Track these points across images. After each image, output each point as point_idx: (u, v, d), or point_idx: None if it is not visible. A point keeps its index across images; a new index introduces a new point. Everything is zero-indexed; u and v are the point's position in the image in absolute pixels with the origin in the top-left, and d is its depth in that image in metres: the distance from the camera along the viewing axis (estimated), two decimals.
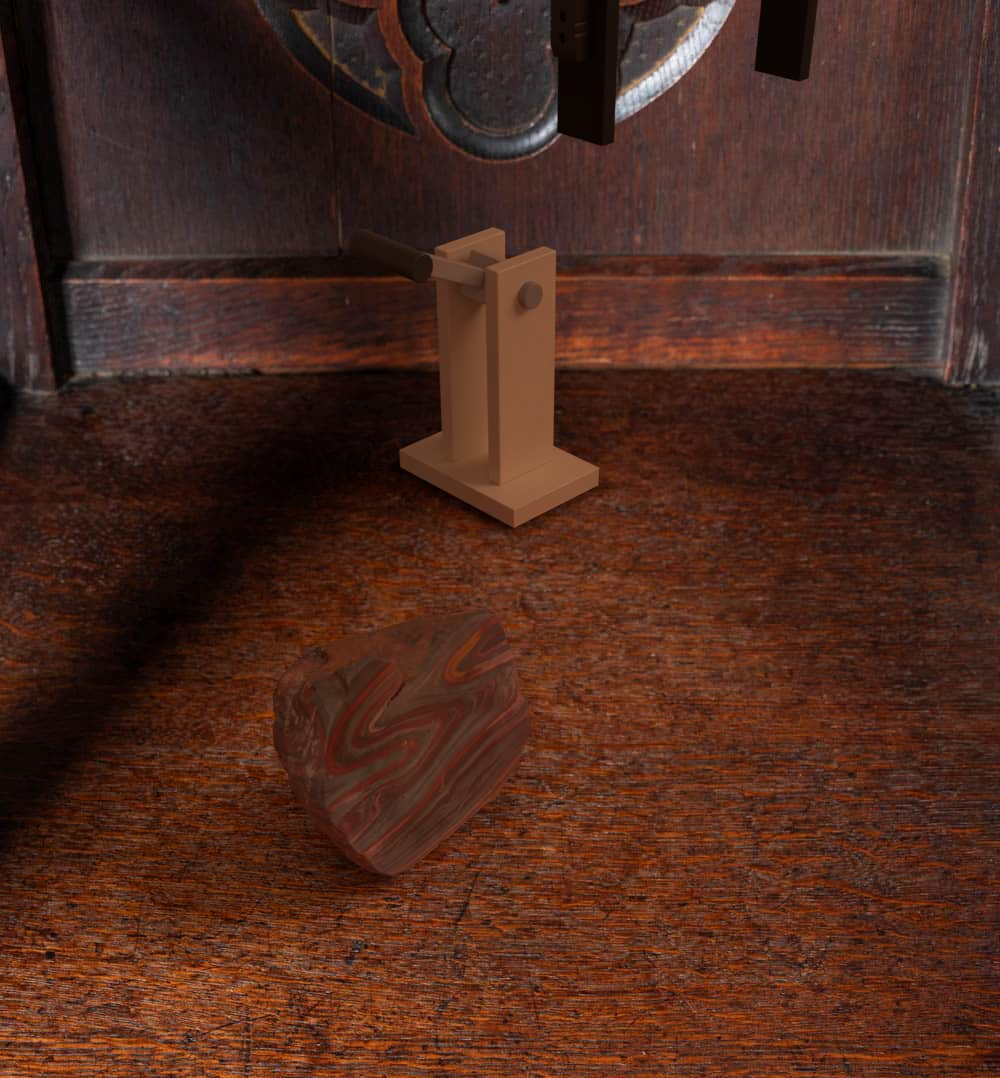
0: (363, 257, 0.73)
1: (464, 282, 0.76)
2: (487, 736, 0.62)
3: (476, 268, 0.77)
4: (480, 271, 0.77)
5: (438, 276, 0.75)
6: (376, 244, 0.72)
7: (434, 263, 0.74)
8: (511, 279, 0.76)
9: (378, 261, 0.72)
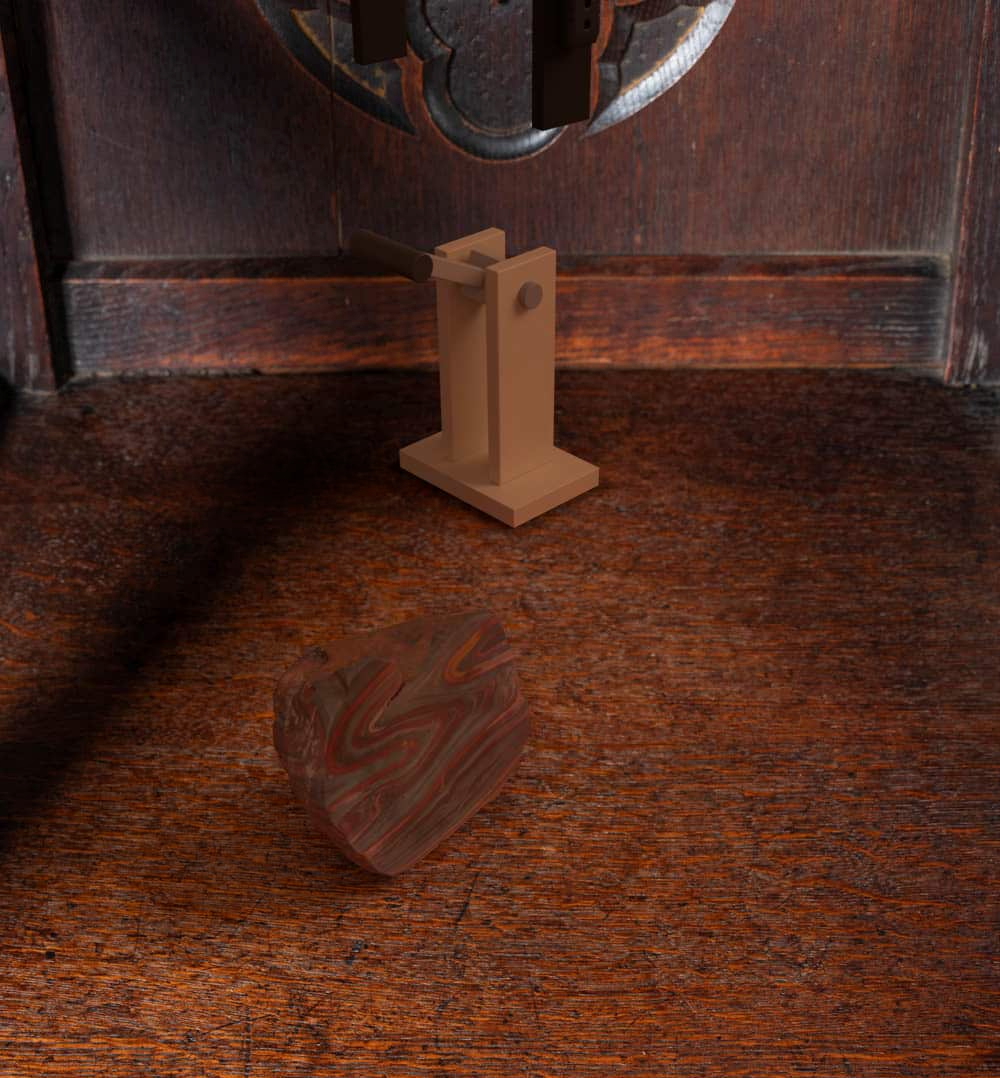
0: (363, 257, 0.73)
1: (464, 282, 0.76)
2: (487, 736, 0.62)
3: (476, 268, 0.77)
4: (480, 271, 0.77)
5: (438, 276, 0.75)
6: (376, 244, 0.72)
7: (434, 263, 0.74)
8: (511, 279, 0.76)
9: (378, 261, 0.72)
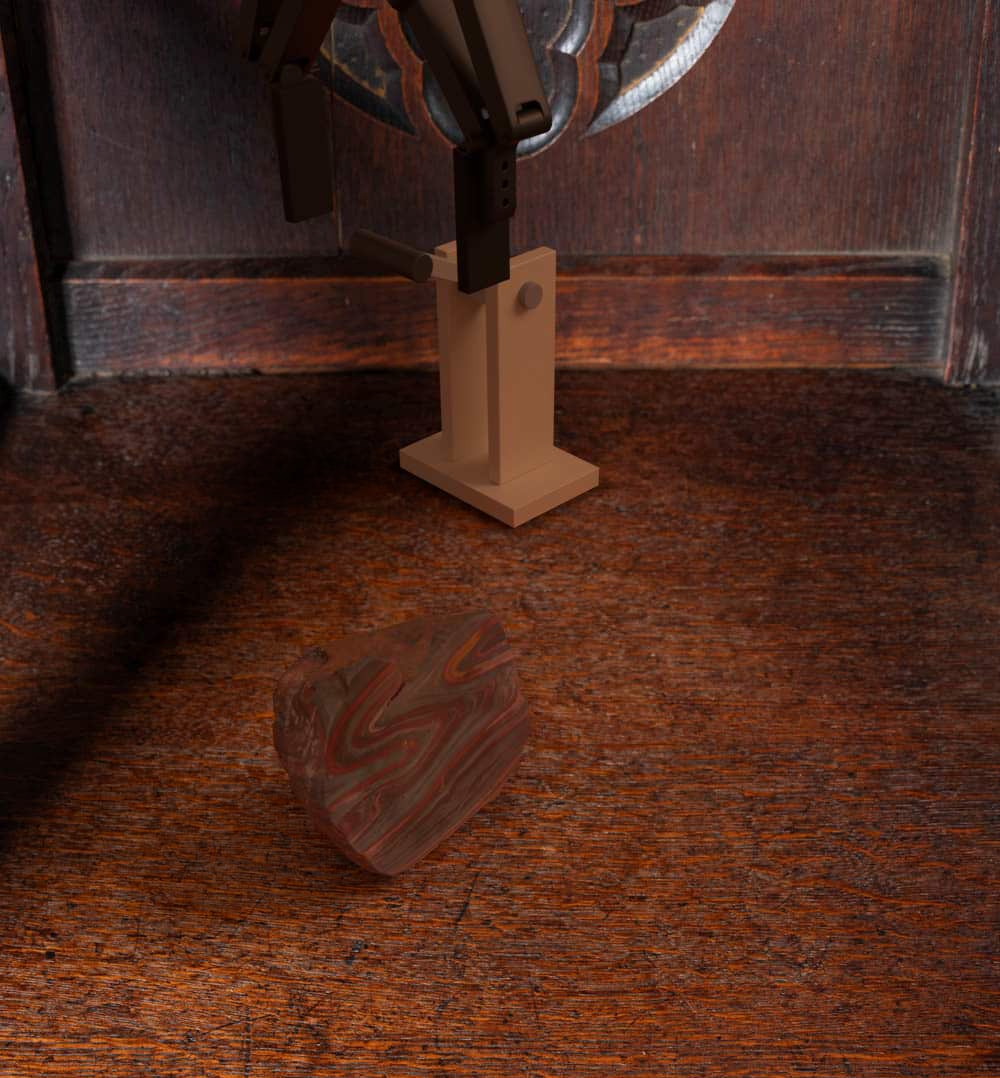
0: (363, 257, 0.73)
1: None
2: (487, 736, 0.62)
3: None
4: None
5: (438, 276, 0.75)
6: (376, 244, 0.72)
7: (434, 263, 0.74)
8: (511, 279, 0.76)
9: (378, 261, 0.72)
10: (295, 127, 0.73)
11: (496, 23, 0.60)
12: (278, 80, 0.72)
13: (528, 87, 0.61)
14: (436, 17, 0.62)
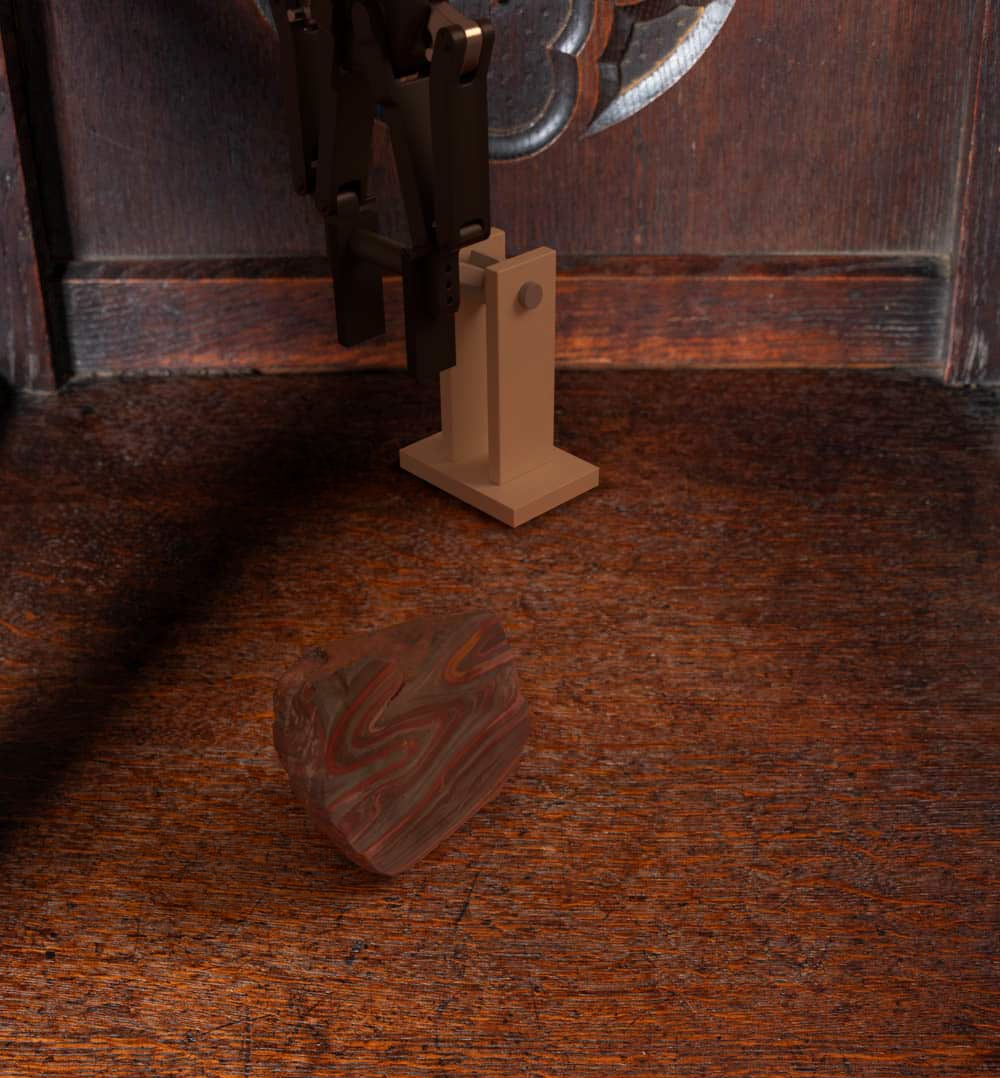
0: (363, 257, 0.73)
1: (464, 282, 0.76)
2: (487, 736, 0.62)
3: (476, 268, 0.77)
4: (480, 271, 0.77)
5: None
6: (376, 244, 0.72)
7: None
8: (511, 279, 0.76)
9: (378, 261, 0.72)
10: (351, 257, 0.74)
11: (464, 150, 0.65)
12: (336, 209, 0.73)
13: (477, 207, 0.67)
14: (413, 127, 0.66)
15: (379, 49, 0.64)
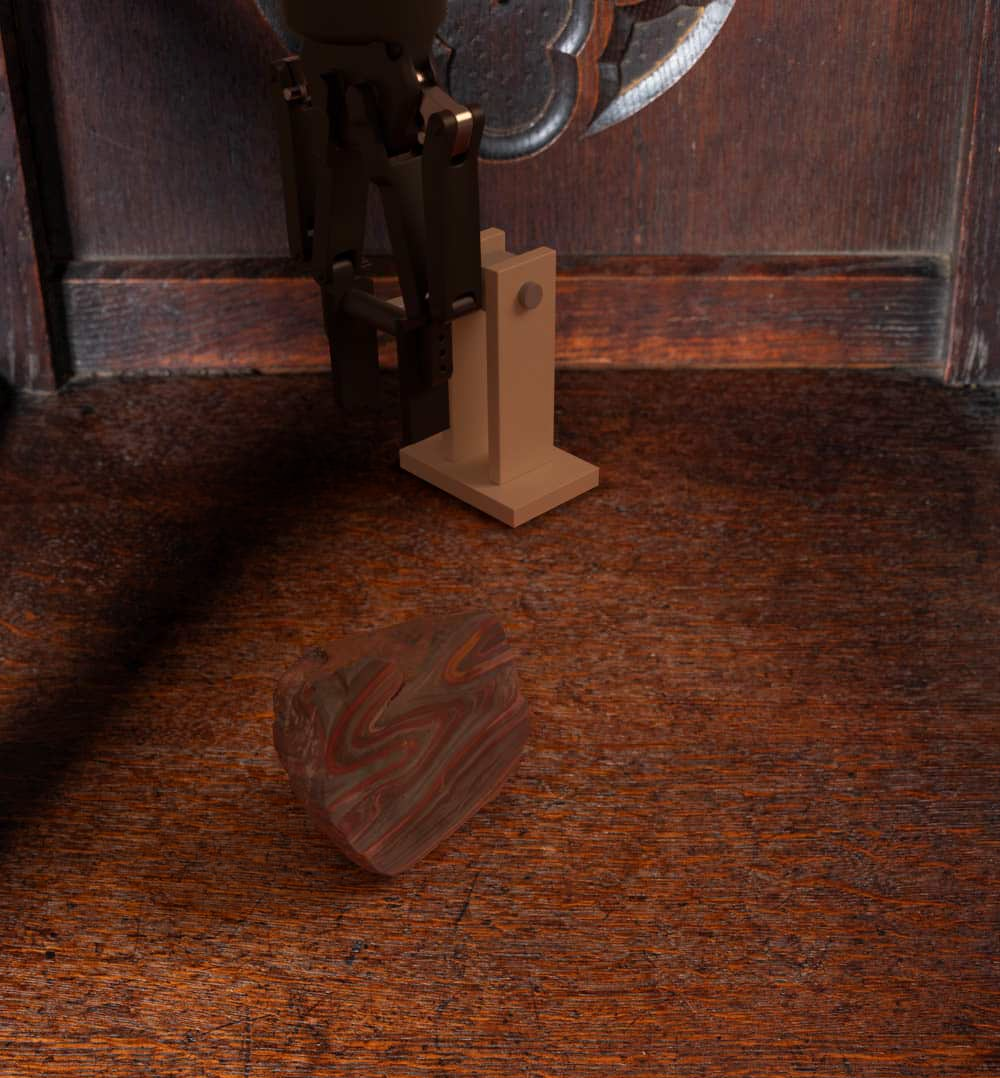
0: (359, 320, 0.75)
1: None
2: (487, 736, 0.62)
3: None
4: None
5: None
6: (367, 310, 0.74)
7: None
8: (511, 279, 0.76)
9: (373, 325, 0.74)
10: (346, 323, 0.76)
11: (455, 227, 0.67)
12: (332, 277, 0.75)
13: (468, 281, 0.69)
14: (406, 204, 0.68)
15: (373, 131, 0.66)
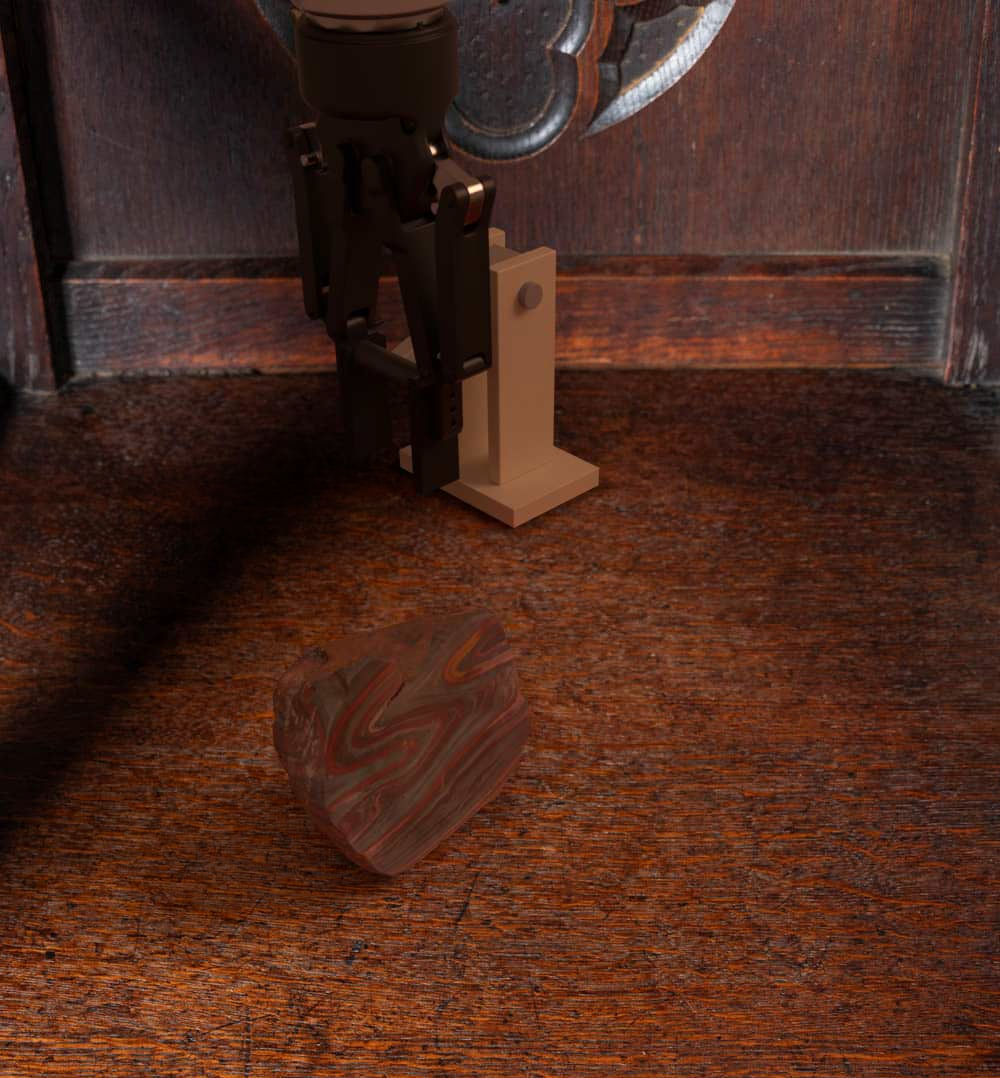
0: None
1: None
2: (487, 736, 0.62)
3: None
4: None
5: None
6: (376, 367, 0.76)
7: None
8: (511, 279, 0.76)
9: None
10: (360, 377, 0.78)
11: (467, 292, 0.69)
12: (346, 334, 0.77)
13: (479, 342, 0.71)
14: (419, 269, 0.70)
15: (388, 200, 0.68)
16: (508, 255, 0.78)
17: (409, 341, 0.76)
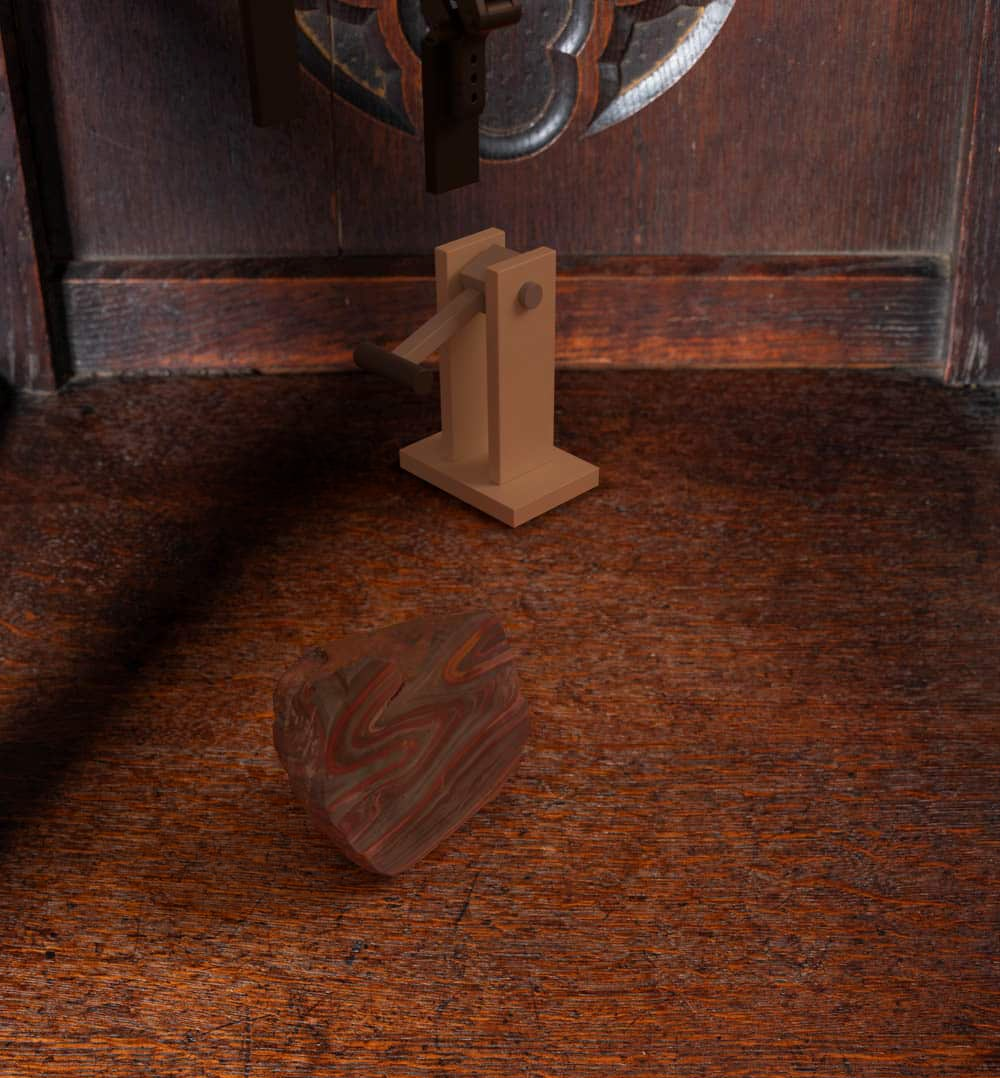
0: None
1: (468, 320, 0.78)
2: (487, 736, 0.62)
3: (471, 300, 0.77)
4: (476, 299, 0.78)
5: (442, 342, 0.77)
6: (376, 368, 0.76)
7: (432, 339, 0.77)
8: (511, 279, 0.76)
9: (386, 380, 0.77)
10: (264, 26, 0.71)
11: None
12: None
13: None
14: None
15: None
16: (508, 255, 0.78)
17: (409, 342, 0.77)
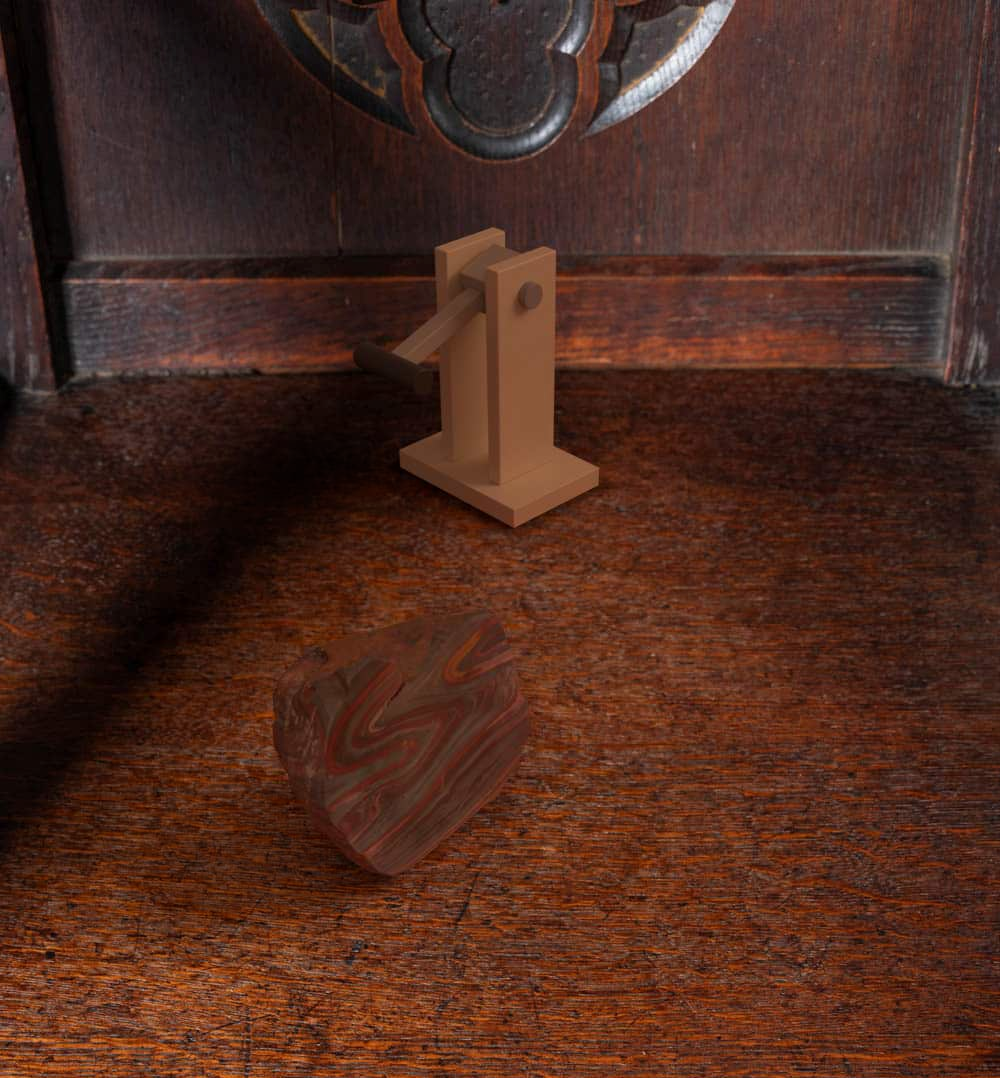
0: None
1: (468, 320, 0.78)
2: (487, 736, 0.62)
3: (471, 300, 0.77)
4: (476, 299, 0.78)
5: (442, 342, 0.77)
6: (376, 368, 0.76)
7: (432, 339, 0.77)
8: (511, 279, 0.76)
9: (386, 380, 0.77)
10: None
11: None
12: None
13: None
14: None
15: None
16: (508, 255, 0.78)
17: (409, 342, 0.77)
